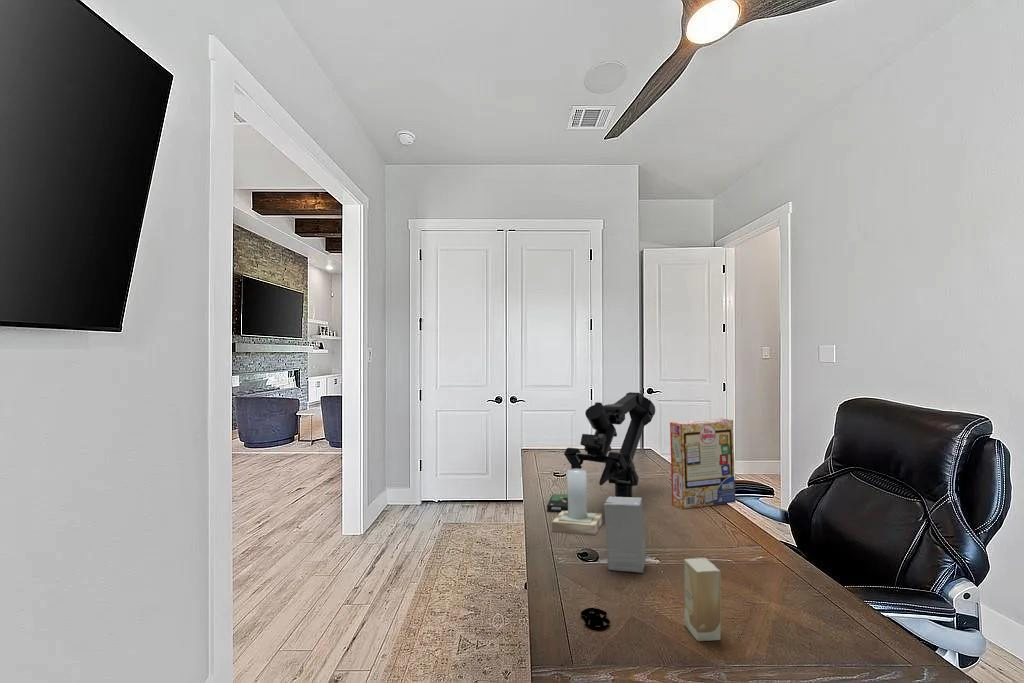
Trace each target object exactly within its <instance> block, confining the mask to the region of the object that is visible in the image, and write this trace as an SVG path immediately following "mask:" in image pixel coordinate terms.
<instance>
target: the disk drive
mask: <svg viewBox="0 0 1024 683" xmlns="http://www.w3.org/2000/svg"><path fill="white" fill-rule="evenodd" d="M546 510H547V511H546V512H547V513H557V514H560V512H561V511H562V510H563V511H568V493H567V494H564V493H563V494H561V493H559V494H558V493H557V494H556V493H553V494H551V497H550V499H549V500H548V502H547V505H546Z"/></svg>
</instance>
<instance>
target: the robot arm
mask: <svg viewBox="0 0 1024 683" xmlns="http://www.w3.org/2000/svg"><path fill="white" fill-rule="evenodd" d="M627 414H629V416H630V422H629V425H628V427H627V430H626V434H625V435H624V438H623V442H622V445H621V448H620V450H619V452H616V451H612V446H611V444H612V442H613V440H614V437H617V436H618V433H617V431H616V430H617V429H616V427H615V426H614V425H617V426H618V425H621V424H622V423H623V422H624V421H625V420H626V415H627ZM655 414H656V406H655V404H654V403H653V402H652V400H650V399H649V398H647V397H645V396H644V395H643V394H642V393H640V392H631V391H630V392H626V394H625V395H624V396H623V397H622V398H620V399H619V400H617V401H615V402H614V403H611V404H609V403H608V404H604V405H603V402H598V401H597V402H594V404H593V405H590V406H589V407H588V408H587V409H586V410H585V417H586V419H587V421H588V423H589V424H590V426H591V428H592V429H593V430H595V432H594V434H588V433H582V434H581V438H580V445H581V446H583V447H584V448H583V450H584V452H586V453H582V452H581V450H580V449H579V448H578V447H577V448H576V447H567V448H566V449H565V451H564V453H563V455H564V456H565V458H566V459H567V462H568V463H569V464H570V465H571V468H570V469H576V468H578V469H583V466H582V465H583V463H584V461H587V462H594V463H603V464H604V466H605V467H604V469H603V471H602V473H601V476H600V479H599V482H598V484H599V486H603V485H604V484H605V483H606V482H608V484H614V497H633V487H635V486H638V485H639V479H640V478H639V475H638V473H637V471H636V466H635V463H634V457H635V455H636V451H637V449H638V445H639V443H640V440H641V436H642V434H643V431H644V428H645V426H647V425H648V424H650V423H651V421H652V419H653V417H654V416H655Z"/></svg>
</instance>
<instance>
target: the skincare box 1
mask: <svg viewBox="0 0 1024 683" xmlns="http://www.w3.org/2000/svg"><path fill="white" fill-rule="evenodd" d="M603 505H604V507H603V508H604V520H605V540H606V541H605V542H606V544H605V545H606V557H607V558H606V560H607V562H606V563H607V570H608V571H618V572H629V573H641V574H642V573H644V570H645V567H646V566H645V565H646V562H647V561H646V559H647V558H646V557H647V556H646V541H645V540H646V539H645V523H644V507H643V506H644V505H643V497H634V496H632V497H615V496H610V495H609V496H608V497H607V498H606V501H605V502H604V504H603Z"/></svg>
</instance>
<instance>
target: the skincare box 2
mask: <svg viewBox="0 0 1024 683" xmlns="http://www.w3.org/2000/svg"><path fill="white" fill-rule="evenodd" d="M683 562H684V625H685V627H686V628H687V630H688V632H690V634H691V635H692V636H693V638H695V640H696V641H697V642H705V641H707V642H708V641H710V642H711V641H720V640H721V635H722V634H721V630H722V629H721V625H722V624H721V570H720V569H719V568H718V567H717V566H716V565H715V564H714V563H712V562H711V561H710V560H709V559H708V558H706V557H701V558H700V557H699V558H685V559H684V561H683Z"/></svg>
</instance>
